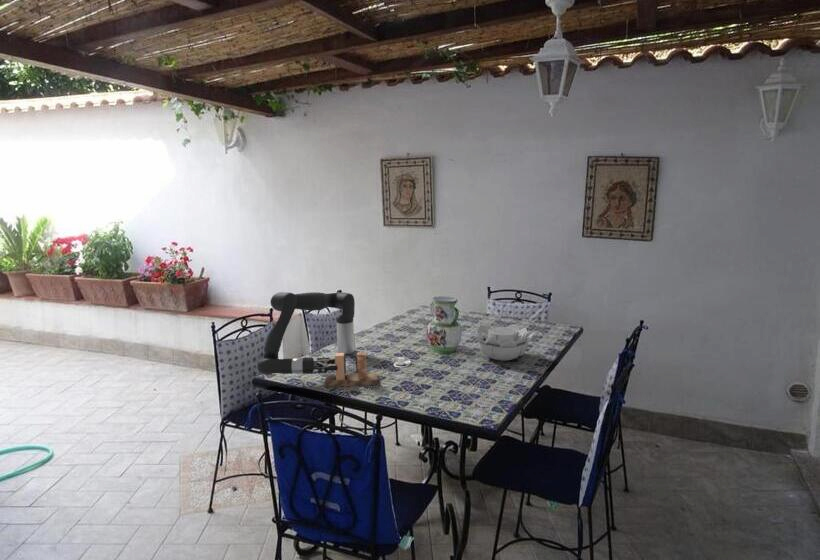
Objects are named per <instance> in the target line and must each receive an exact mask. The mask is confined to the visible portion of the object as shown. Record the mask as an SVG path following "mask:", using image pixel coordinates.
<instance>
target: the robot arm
mask: <svg viewBox="0 0 820 560" xmlns="http://www.w3.org/2000/svg"><path fill="white" fill-rule="evenodd" d="M270 298H271V299H270V305H271V307H272V309H274V310H275V311H277V312H280V314H279V317H278V319H277V321H276V322H275V324H274V325H273V327H272V328H271V329H270V331H269V333H268V334H267V337H266V340H265V343H264V348H263V353H264V354H263V357H262V359H261V360H259V362H257V367H256V368H257V370H258V372H259V373H260V374H262V375H264V376H271V375H272V374H281V375H310V374H311V375H312V374H327V373H328V372H330V371H331V372H332V371H333V372H334V371H335V370H337V365H335V358H333V359H331V358H330V357H318V358H316V360H314V357H309V356H308V357H306V356H305V357H294V358H278V357H279V352H280V349H281V346H282V342H283V339H284V335H285V333H286V330H287V329H288V326H289V323H290V321H291V319H292V316H293V315H294V312H295V311H296V310H301V311H311V312H312V311H323V310H324V309H326V308H332V309H339V310H342V311H341V312H342V314H339V315H337V316H336V318H335V319H336V340H337V341H336V342H337V343H336V344H337V346H336V347H337V353H344V355H351V354H354V352H355V351H356V336H355V331H354V330H355V327H354V326H355V325H354V317H355V296H354V295H353V294H352V293H348V292H342V291H341V292H340V291H339V292H333V293H326V292H315V291H314V292H303V293H302V292H300V293H293V292H282V291H281V292H276V293H275V294H273V295H272V296H271V297H270ZM335 372H336V371H335Z"/></svg>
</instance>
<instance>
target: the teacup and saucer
mask: <svg viewBox="0 0 820 560" xmlns="http://www.w3.org/2000/svg"><path fill="white" fill-rule="evenodd" d="M410 364H412V361H411V360H405V357H404V356H399V357H397V358H395V362H394V363H393V367H396V368H400V366H402V368H407V367H409V366H410ZM404 365H405V366H404Z"/></svg>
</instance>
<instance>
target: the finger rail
mask: <svg viewBox="0 0 820 560" xmlns="http://www.w3.org/2000/svg"><path fill="white" fill-rule="evenodd" d="M355 366H356V367H355V370H356V371H355V372H356V373H355V374H354V373H353V374H345V380H336V374H330V375H329V374H328V375H327V374H326V377H325V380H324V387H325V388H329V387H332V388H333V387H354V386H377V385H378V379H379V378H378V373H368V372H367V371H368V370H367V369H368V368H367V351H361V352H357V351H356V354H355Z"/></svg>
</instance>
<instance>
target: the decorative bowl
mask: <svg viewBox="0 0 820 560" xmlns="http://www.w3.org/2000/svg"><path fill="white" fill-rule="evenodd" d="M475 331H476V333H475V334H474V338H475V340H476V341H477V343H478V347H479V349H480V351H481V353H482V354H483V355H484V356H485V357H487V358H491V359H493V360H496V361H501V362H503V361H504V362H506V361H507V362H508V361H511V360H514V359H517V358H519V357H521V356H523V354H524V353H525V352H526V350H527V348H528V345H529V344H528V343H530V342H531V341H532V340H533V338H534V336H535V332H532V333H531V334H529V335H528V331H527V327H524V328H521V329H520V328H519V325H517V324H516V323H512V324H510V325H508V326H505V327H504V326H503V325H501V324H499V323H495V324H494V325H493V326H492V327H491V326H485V324H484V325H483V324H479V326H478V329H477V328H476V330H475Z"/></svg>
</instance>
